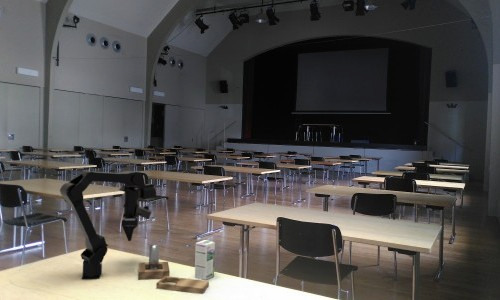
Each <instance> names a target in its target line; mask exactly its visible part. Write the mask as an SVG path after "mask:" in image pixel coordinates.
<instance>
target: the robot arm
mask: <svg viewBox="0 0 500 300" xmlns="http://www.w3.org/2000/svg"><path fill="white" fill-rule="evenodd" d="M92 182H102V183H103V182H104V183H107V182H108V183H120V184H123V185H122V187H120V188H119V191H120V192H123V193H124V195H123V196H124V197H123V217H122V219H121V226H122V228H123V231H124V233H125V236H126V238H127V241H128V242H131V241H132V238H133V234H134V230H135V228H137V227H138V225H139V217H142V218H145V219H147V220H150V218H151V215H152V210H151V209H150V207H149V205H144V206H140V203H139V200H140V201H148V200H155V199H156V197H157V192H156V188H155V187H154V186H155V184H153V183H147V184H145V183H144V181H143V180H142V177H141V174H140V172H137V171H131V170H126V171H120V172H106V171H92V170H84V171H83V172H81V173H80V174H79V175H77V176H75V177H73V178H72V179H71V180H69V181H68V182H66V183H64V184H62V185H61V187H60V189H59V192H60V195H61V196H62V197H63V200H65V202H66V203H68V205H69V206H70V207H71V209H72V212H73V214H74V216H75V218H76V220H77V223H78V225H79V226H80V229H81V231H82V233H83V235H84V239H85V240H84V241H85V242H84V245H85V249H84V250H83V251H82V252H81V253H80V258H81V260H83V262H82V276H81V280H93V279H100V278H101V276H102V274H103V261H104V258H105V256H106V255H107V252H108V251H109V250H108V247H109V245H108V244H107V241H106V237H104V236H103V235H100V234H98V233H97V231H96V229H95V227H94V224H93V222H92V219H91V218H90V215H89V213H88V211H87V209H86V207H85V205H84V203H85V202H84V193H83V192H84V191H86V190H87V189H88V187H89V185H90V184H92ZM127 185H128V186H127Z"/></svg>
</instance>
